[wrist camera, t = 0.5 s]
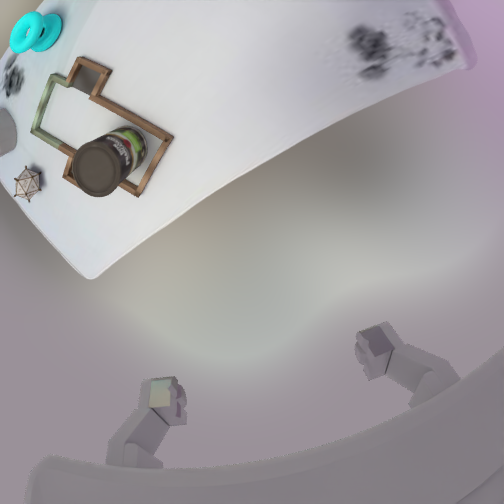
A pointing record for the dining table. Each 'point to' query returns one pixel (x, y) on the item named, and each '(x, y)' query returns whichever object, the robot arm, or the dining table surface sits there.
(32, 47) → the donuts
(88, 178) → the coffee can
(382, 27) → the dining table surface
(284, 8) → the dining table surface
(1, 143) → the lumpy-topped squat cylinder
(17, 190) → the game die
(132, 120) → the brown wooden frame
